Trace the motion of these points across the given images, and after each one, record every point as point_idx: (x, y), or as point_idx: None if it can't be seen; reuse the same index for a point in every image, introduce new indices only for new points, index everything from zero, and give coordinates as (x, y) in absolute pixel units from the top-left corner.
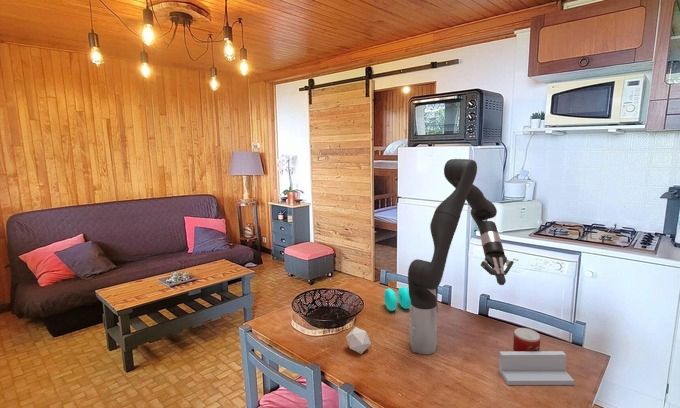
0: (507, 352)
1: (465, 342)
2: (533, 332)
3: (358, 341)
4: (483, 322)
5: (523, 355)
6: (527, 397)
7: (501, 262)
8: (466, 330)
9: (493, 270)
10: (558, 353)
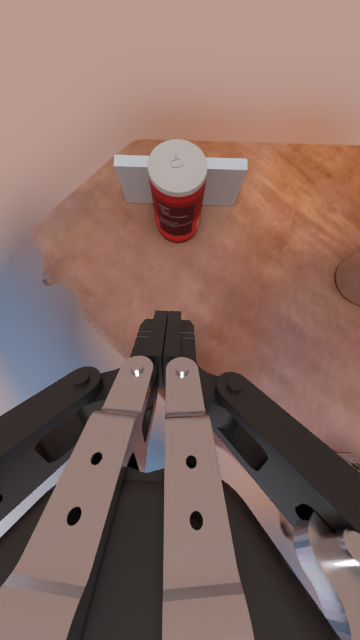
0: (232, 165)
1: (268, 297)
2: (155, 173)
3: None
4: None
5: None
6: (214, 149)
7: (65, 528)
8: (253, 348)
9: (233, 387)
10: (128, 158)
